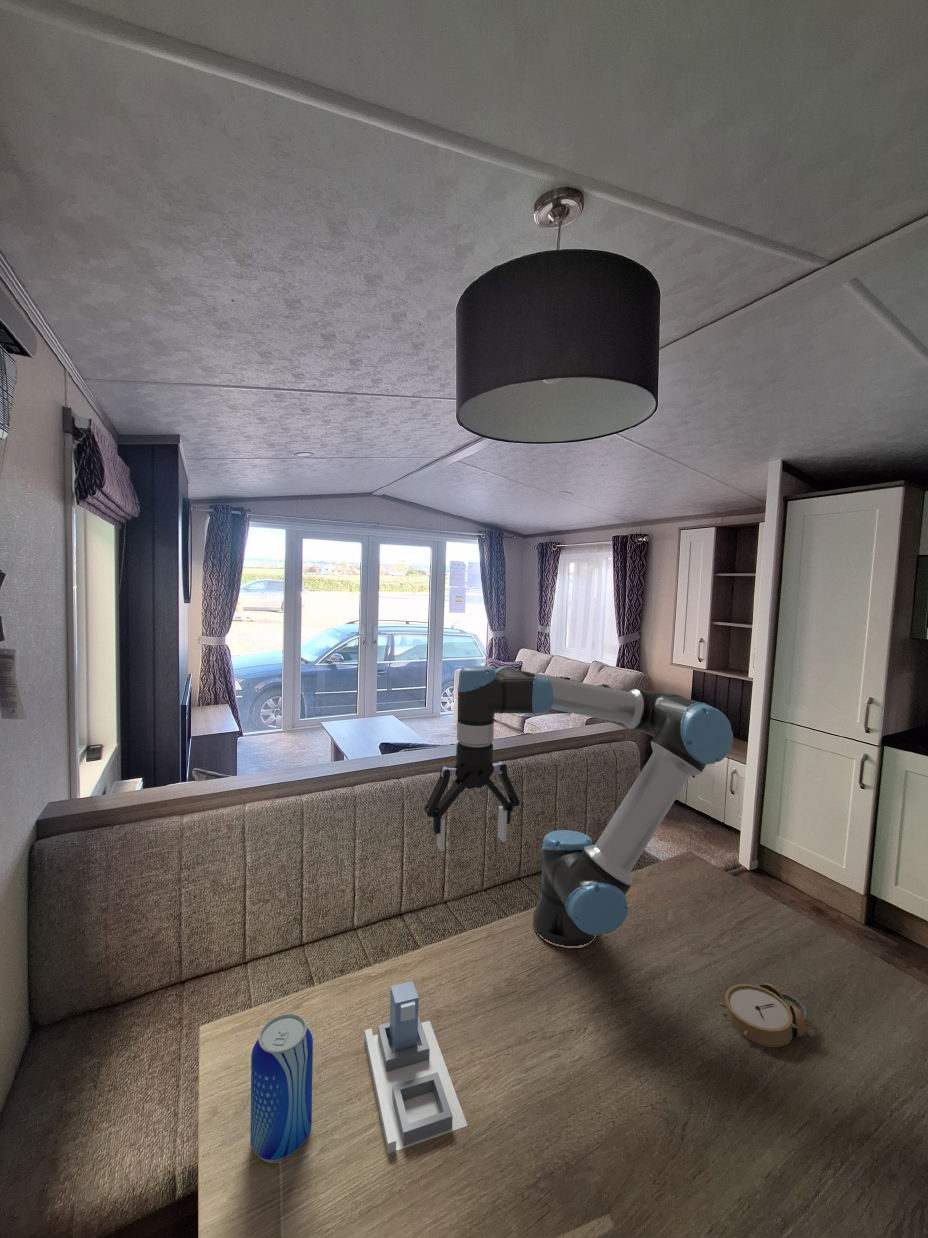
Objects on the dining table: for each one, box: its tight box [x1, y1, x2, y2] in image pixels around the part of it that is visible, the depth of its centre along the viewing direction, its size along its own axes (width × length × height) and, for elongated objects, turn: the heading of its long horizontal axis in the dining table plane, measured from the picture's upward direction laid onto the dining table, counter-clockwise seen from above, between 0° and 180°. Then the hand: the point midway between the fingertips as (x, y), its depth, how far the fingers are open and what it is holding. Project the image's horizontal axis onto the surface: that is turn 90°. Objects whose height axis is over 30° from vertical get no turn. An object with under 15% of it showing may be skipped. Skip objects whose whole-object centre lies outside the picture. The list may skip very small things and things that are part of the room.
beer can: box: [249, 1013, 314, 1164], centre depth 75 cm, size 8×8×16 cm
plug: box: [389, 980, 420, 1054], centre depth 89 cm, size 4×5×10 cm
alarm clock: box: [718, 982, 810, 1048], centre depth 98 cm, size 11×5×15 cm
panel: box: [364, 1014, 468, 1155], centre depth 84 cm, size 12×20×3 cm, turn 20°
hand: (471, 843), depth 106 cm, fingers open, 13 cm apart
